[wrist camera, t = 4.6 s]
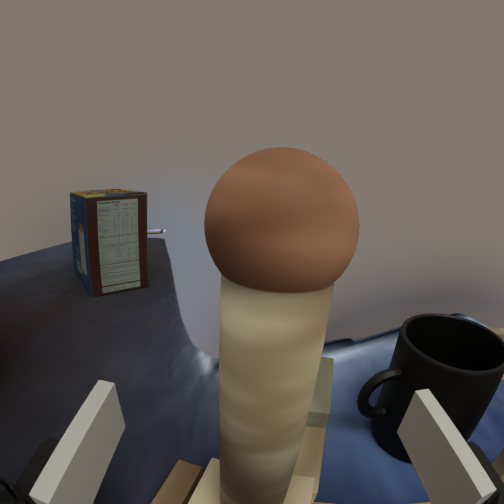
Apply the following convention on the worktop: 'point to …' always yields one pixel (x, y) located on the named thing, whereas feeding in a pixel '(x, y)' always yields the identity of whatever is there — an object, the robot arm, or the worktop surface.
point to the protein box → (110, 239)
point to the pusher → (275, 322)
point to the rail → (186, 485)
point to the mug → (435, 375)
